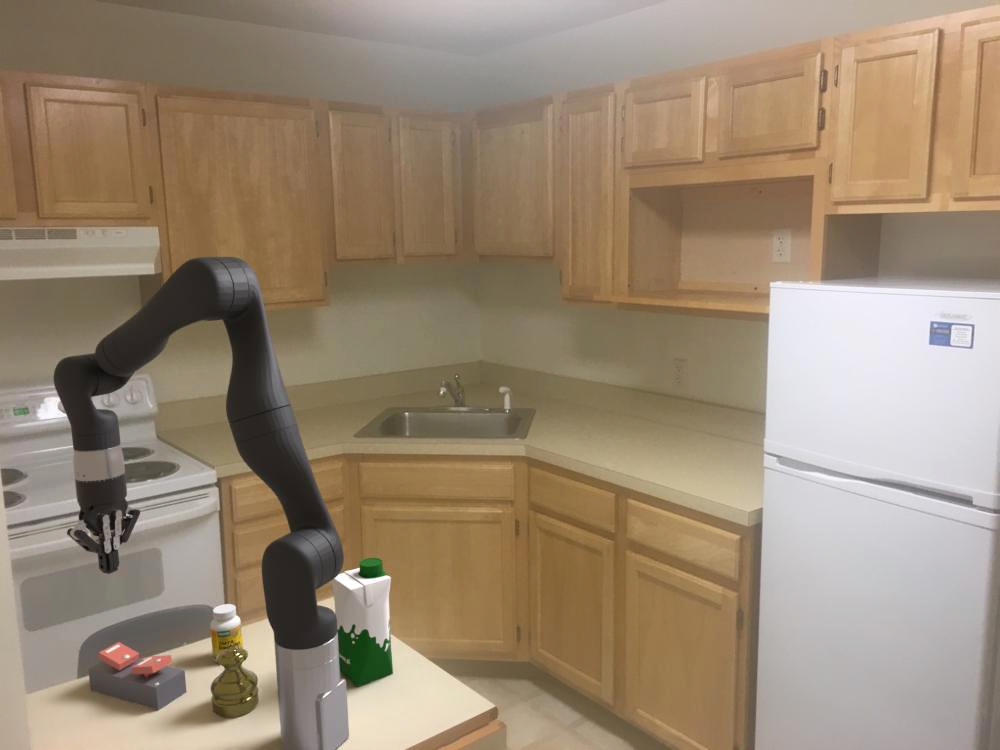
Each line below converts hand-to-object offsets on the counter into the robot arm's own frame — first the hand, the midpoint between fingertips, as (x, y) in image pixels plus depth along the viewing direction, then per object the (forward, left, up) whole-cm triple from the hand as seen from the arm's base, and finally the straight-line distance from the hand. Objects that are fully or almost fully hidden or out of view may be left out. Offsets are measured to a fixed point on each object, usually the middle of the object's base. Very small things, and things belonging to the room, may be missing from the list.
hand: (110, 571), depth 134 cm
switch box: (-4, 0, -21) cm, 21 cm away
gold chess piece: (-23, -3, -21) cm, 31 cm away
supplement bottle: (-10, -15, -21) cm, 28 cm away
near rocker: (-8, 0, -16) cm, 18 cm away
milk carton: (-37, -20, -21) cm, 47 cm away
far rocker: (0, 0, -16) cm, 16 cm away
